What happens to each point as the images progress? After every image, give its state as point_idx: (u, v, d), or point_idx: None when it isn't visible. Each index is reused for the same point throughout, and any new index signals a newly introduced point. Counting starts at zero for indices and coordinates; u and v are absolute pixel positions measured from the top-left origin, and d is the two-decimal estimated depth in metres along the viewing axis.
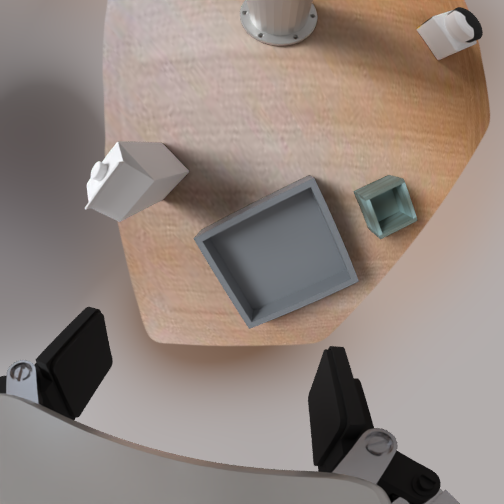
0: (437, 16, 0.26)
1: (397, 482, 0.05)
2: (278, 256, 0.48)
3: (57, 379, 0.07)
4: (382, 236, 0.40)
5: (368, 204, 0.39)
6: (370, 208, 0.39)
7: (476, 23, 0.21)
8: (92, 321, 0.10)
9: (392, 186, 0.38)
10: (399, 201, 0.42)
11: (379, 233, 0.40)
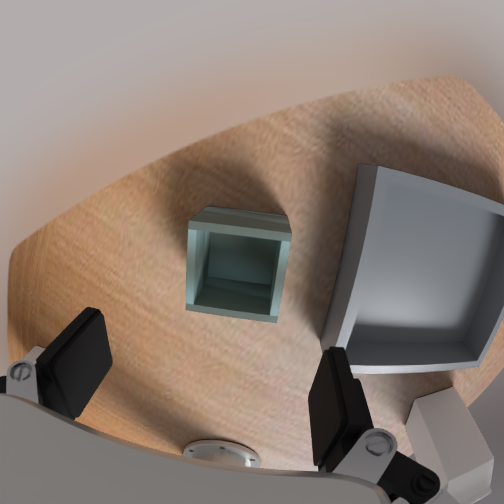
0: None
1: (397, 482, 0.05)
2: (437, 270, 0.24)
3: (57, 379, 0.07)
4: (284, 236, 0.19)
5: (276, 308, 0.21)
6: (277, 300, 0.21)
7: None
8: (92, 321, 0.10)
9: (214, 310, 0.21)
10: (207, 242, 0.24)
11: (287, 246, 0.19)
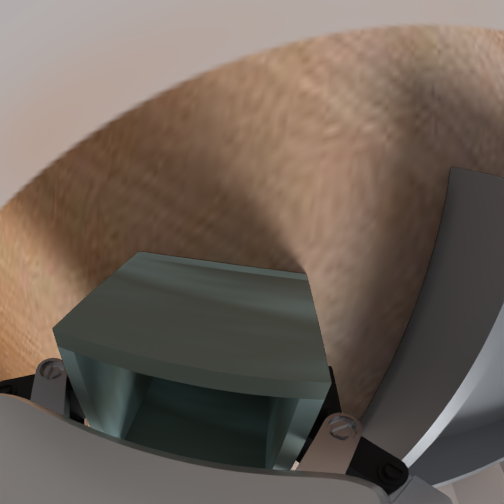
0: None
1: (362, 468, 0.06)
2: None
3: None
4: (309, 389, 0.06)
5: None
6: None
7: None
8: None
9: None
10: None
11: (314, 407, 0.06)
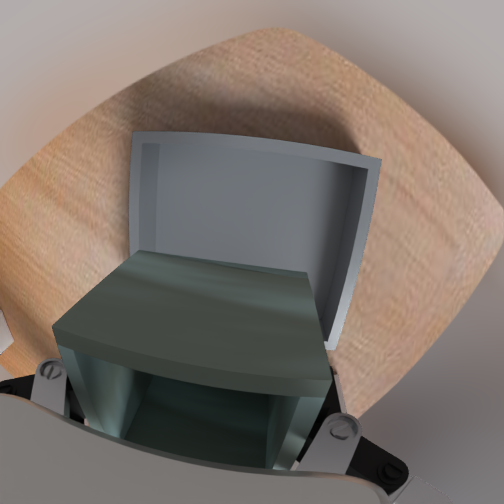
0: None
1: (362, 468, 0.06)
2: (252, 229, 0.27)
3: None
4: (309, 387, 0.06)
5: None
6: None
7: None
8: None
9: None
10: None
11: (314, 405, 0.06)
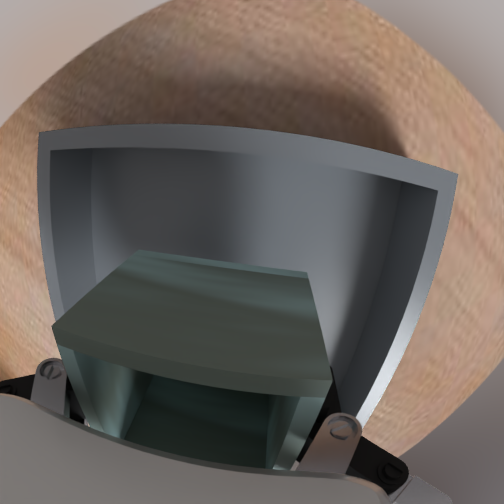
0: None
1: (362, 468, 0.06)
2: None
3: None
4: (310, 387, 0.06)
5: None
6: None
7: None
8: None
9: None
10: None
11: (315, 405, 0.06)
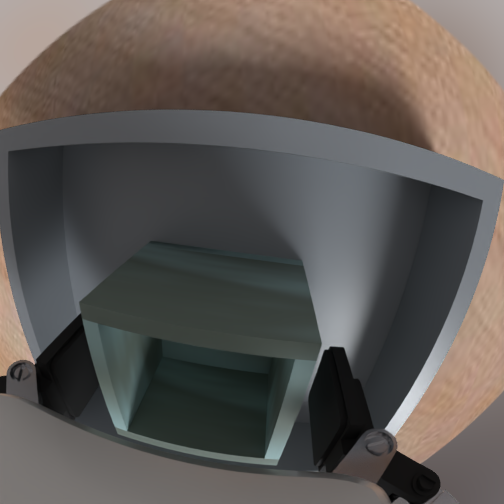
0: None
1: (397, 482, 0.05)
2: None
3: (57, 379, 0.07)
4: (302, 350, 0.07)
5: (277, 452, 0.09)
6: (279, 444, 0.09)
7: None
8: None
9: (163, 444, 0.10)
10: None
11: (307, 368, 0.07)
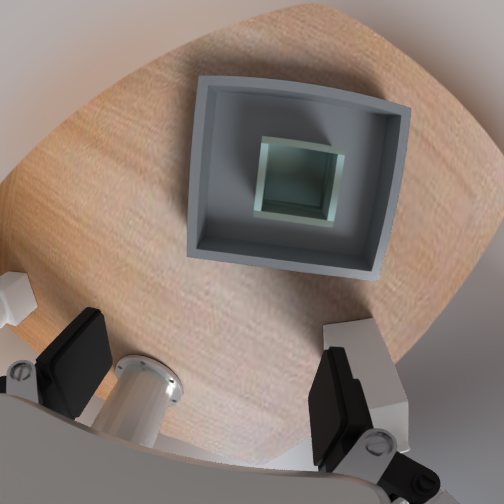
0: (12, 324, 0.35)
1: (397, 482, 0.05)
2: None
3: (57, 379, 0.07)
4: (340, 150, 0.22)
5: (333, 214, 0.24)
6: (334, 206, 0.24)
7: None
8: (92, 321, 0.10)
9: (279, 216, 0.25)
10: (267, 165, 0.27)
11: (342, 158, 0.22)
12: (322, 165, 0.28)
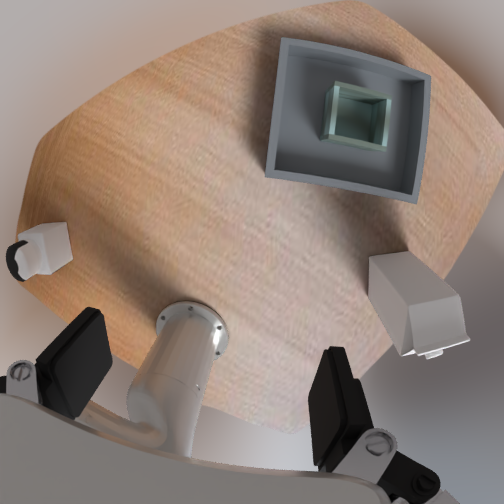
0: (45, 273, 0.38)
1: (397, 482, 0.05)
2: None
3: (57, 379, 0.07)
4: (388, 96, 0.27)
5: (386, 141, 0.28)
6: (386, 135, 0.28)
7: (9, 261, 0.32)
8: (92, 321, 0.10)
9: (347, 139, 0.29)
10: None
11: (390, 102, 0.27)
12: (368, 114, 0.32)
